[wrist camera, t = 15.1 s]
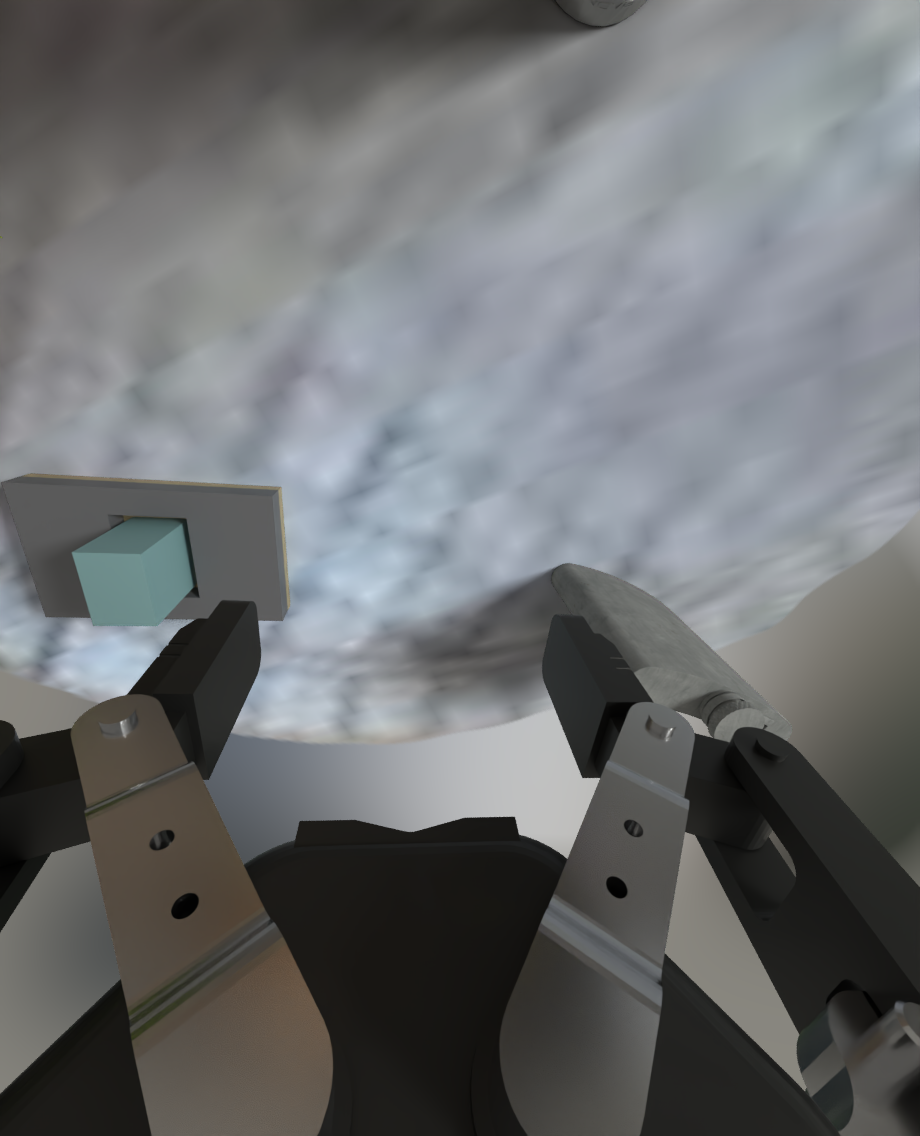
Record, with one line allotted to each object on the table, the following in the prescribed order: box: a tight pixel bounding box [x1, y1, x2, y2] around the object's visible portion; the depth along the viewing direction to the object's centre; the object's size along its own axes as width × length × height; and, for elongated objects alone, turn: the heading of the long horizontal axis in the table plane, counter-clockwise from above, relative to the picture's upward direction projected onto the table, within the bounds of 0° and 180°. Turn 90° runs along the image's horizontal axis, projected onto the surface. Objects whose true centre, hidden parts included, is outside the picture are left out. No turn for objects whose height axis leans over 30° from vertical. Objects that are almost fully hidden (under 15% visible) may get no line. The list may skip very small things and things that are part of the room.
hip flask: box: [551, 563, 792, 742], centre depth 40 cm, size 16×4×20 cm, turn 63°
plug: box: [72, 517, 197, 626], centre depth 37 cm, size 6×4×8 cm
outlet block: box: [1, 474, 290, 621], centre depth 40 cm, size 12×20×3 cm, turn 85°
